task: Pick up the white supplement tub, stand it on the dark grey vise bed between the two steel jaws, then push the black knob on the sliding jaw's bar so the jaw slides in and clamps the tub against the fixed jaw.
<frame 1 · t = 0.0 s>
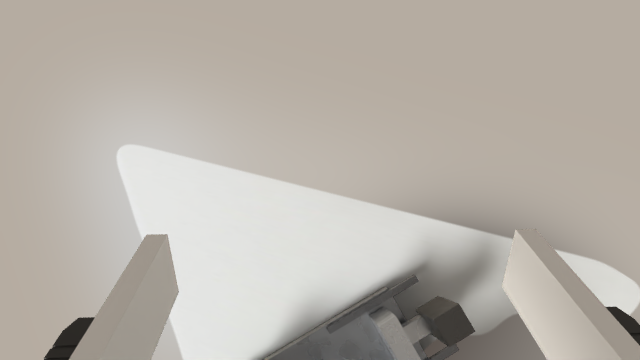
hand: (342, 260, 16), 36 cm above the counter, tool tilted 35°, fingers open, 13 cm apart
sliding jaw: (422, 331, 44), point 6 cm above the counter, slide at 0.0 cm
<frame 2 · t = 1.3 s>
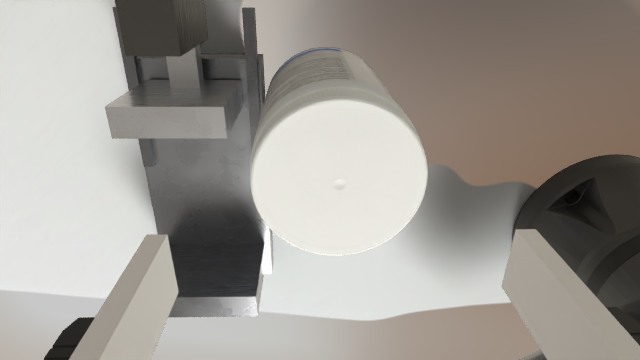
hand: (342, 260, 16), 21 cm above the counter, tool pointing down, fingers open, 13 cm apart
vise: (212, 170, 37), on the counter
sliding jaw: (175, 62, 27), point 6 cm above the counter, slide at 0.0 cm
supplement tub: (325, 103, 34), on the counter
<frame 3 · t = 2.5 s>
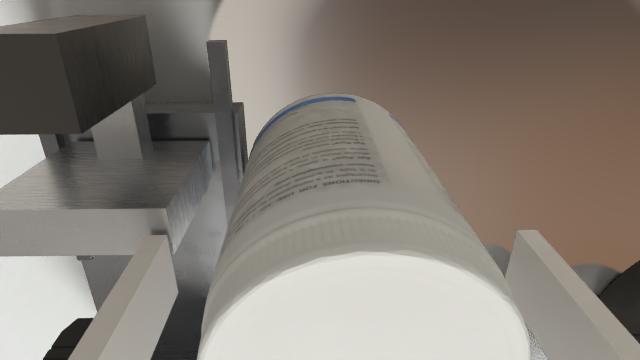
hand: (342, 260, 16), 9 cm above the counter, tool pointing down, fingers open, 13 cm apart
vise: (178, 253, 27), on the counter
sliding jaw: (96, 126, 17), point 6 cm above the counter, slide at -0.1 cm, touching gripper
supplement tub: (333, 166, 25), on the counter
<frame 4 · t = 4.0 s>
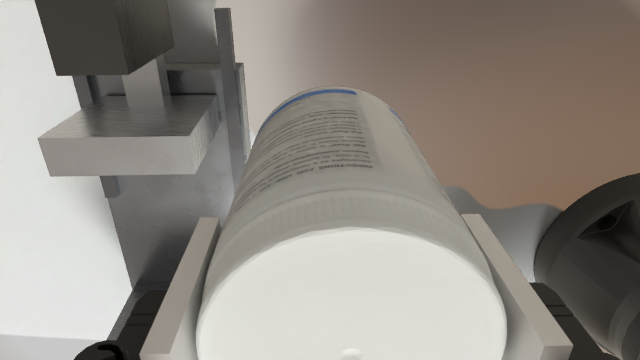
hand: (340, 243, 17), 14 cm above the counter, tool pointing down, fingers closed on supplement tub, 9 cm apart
vise: (188, 196, 32), on the counter
sliding jaw: (130, 77, 21), point 6 cm above the counter, slide at 0.0 cm
supplement tub: (334, 157, 25), point 5 cm above the counter, touching gripper
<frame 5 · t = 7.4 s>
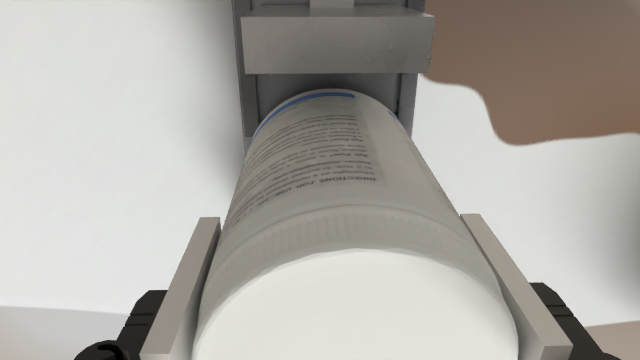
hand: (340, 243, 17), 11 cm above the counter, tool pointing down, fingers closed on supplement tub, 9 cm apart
vise: (326, 144, 27), on the counter
supplement tub: (331, 161, 25), point 2 cm above the counter, touching gripper, vise
when the fingers open (11 cm above the counter, at t = 7.9 s): supplement tub stays where it is, resting on vise.
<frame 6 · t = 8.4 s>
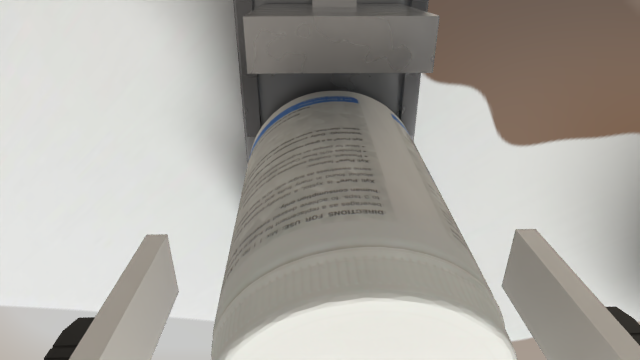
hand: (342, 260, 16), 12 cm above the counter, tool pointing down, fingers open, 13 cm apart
vise: (328, 144, 27), on the counter
supplement tub: (333, 159, 25), point 2 cm above the counter, touching vise
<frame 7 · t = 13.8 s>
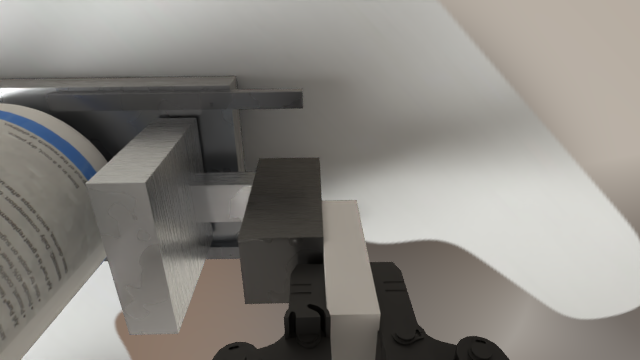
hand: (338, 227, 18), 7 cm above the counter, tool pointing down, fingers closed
vise: (69, 166, 24), on the counter
sliding jaw: (231, 218, 18), point 6 cm above the counter, slide at 0.2 cm, touching gripper
supplement tub: (45, 187, 22), point 2 cm above the counter, touching vise
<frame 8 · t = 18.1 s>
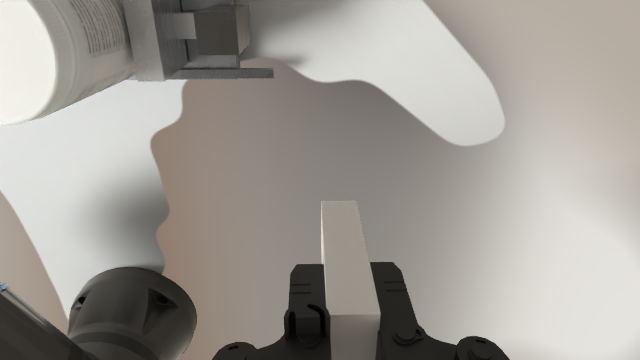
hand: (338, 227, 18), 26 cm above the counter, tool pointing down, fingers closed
vise: (128, 20, 39), on the counter
sliding jaw: (194, 28, 33), point 6 cm above the counter, slide at 2.9 cm, touching supplement tub
supplement tub: (107, 25, 37), point 2 cm above the counter, touching sliding jaw, vise
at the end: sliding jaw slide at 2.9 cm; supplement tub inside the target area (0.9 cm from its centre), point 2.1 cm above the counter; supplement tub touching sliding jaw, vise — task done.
